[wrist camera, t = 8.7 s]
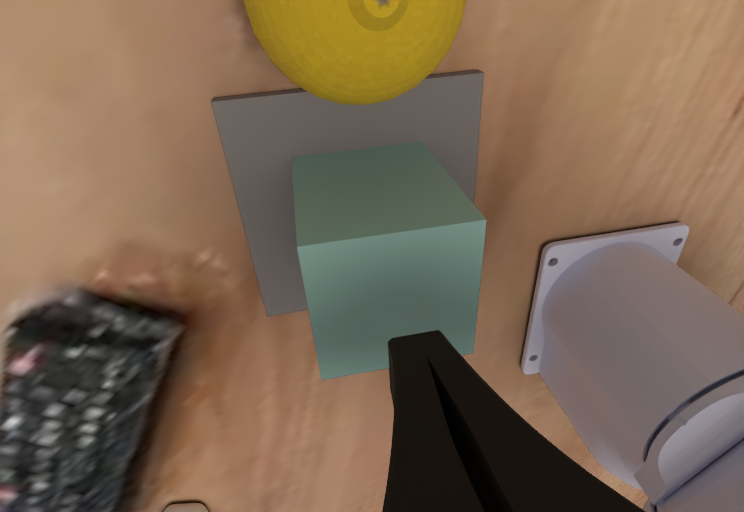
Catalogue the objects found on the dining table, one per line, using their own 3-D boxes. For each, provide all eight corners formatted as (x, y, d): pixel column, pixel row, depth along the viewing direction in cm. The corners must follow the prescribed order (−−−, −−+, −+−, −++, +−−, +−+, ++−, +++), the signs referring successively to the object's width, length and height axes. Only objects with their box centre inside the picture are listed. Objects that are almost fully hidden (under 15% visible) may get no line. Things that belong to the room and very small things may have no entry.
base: (463, 276, 22) (467, 283, 22) (267, 308, 21) (267, 316, 21) (478, 69, 17) (483, 72, 16) (213, 97, 16) (211, 101, 15)
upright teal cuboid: (421, 250, 20) (473, 353, 15) (310, 266, 20) (321, 380, 14) (422, 141, 17) (486, 219, 12) (291, 157, 17) (296, 246, 11)
